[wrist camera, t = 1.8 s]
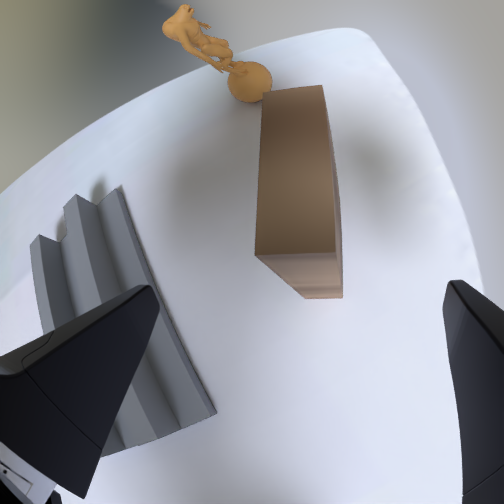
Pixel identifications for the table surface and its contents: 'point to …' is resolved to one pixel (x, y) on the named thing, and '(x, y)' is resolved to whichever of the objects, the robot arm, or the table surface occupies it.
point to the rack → (103, 289)
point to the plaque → (299, 194)
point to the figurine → (241, 75)
